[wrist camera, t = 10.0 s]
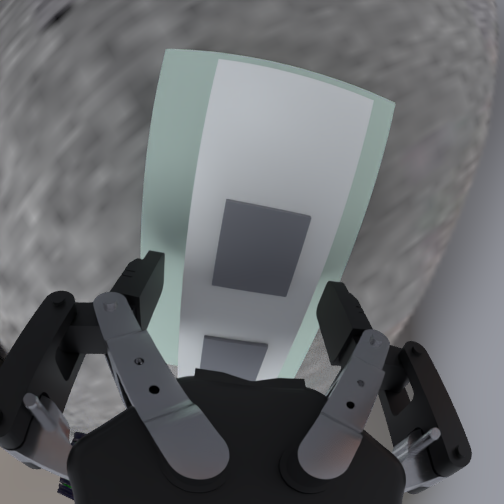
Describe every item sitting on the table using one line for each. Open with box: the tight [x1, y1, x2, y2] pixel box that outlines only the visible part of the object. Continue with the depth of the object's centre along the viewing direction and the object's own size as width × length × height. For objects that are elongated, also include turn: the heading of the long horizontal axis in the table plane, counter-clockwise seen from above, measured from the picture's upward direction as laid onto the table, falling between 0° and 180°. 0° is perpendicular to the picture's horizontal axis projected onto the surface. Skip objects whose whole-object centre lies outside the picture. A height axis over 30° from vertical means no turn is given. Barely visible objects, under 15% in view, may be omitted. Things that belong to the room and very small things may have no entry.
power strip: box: [178, 59, 374, 381], centre depth 14 cm, size 18×5×7 cm, turn 168°
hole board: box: [141, 49, 396, 379], centre depth 16 cm, size 21×12×2 cm, turn 168°
